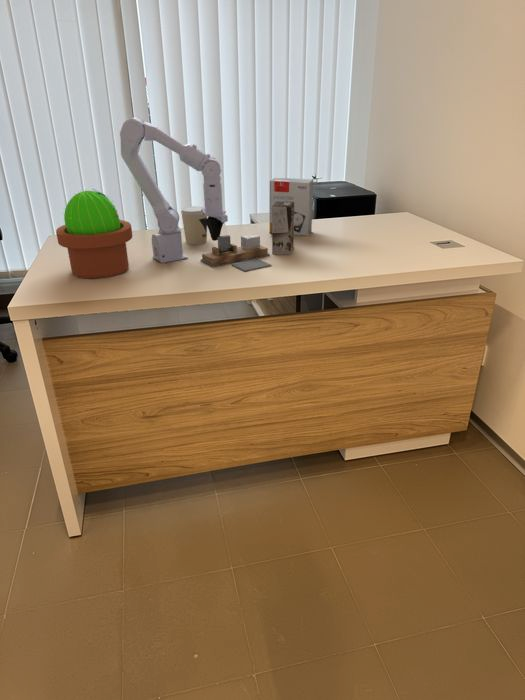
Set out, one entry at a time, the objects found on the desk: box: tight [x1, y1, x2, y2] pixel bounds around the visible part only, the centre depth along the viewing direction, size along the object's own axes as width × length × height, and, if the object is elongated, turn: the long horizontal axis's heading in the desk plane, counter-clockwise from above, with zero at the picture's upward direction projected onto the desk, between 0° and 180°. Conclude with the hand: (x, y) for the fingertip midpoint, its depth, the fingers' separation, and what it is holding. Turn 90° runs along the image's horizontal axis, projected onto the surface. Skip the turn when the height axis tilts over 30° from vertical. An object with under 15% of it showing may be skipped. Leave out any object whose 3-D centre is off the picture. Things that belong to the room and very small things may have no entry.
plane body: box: [200, 243, 270, 268], centre depth 172 cm, size 22×8×5 cm, turn 123°
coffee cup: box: [180, 205, 208, 245], centre depth 190 cm, size 9×9×12 cm
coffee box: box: [271, 201, 295, 256], centre depth 177 cm, size 9×6×16 cm
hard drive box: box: [269, 177, 314, 237], centre depth 198 cm, size 16×8×20 cm, turn 73°
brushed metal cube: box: [240, 233, 261, 251], centre depth 174 cm, size 5×4×4 cm
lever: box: [217, 234, 232, 253], centre depth 169 cm, size 5×2×5 cm, turn 123°
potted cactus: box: [55, 188, 133, 279], centre depth 158 cm, size 22×22×25 cm
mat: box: [231, 258, 272, 273], centre depth 166 cm, size 10×8×1 cm
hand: (215, 239), depth 173 cm, fingers closed
